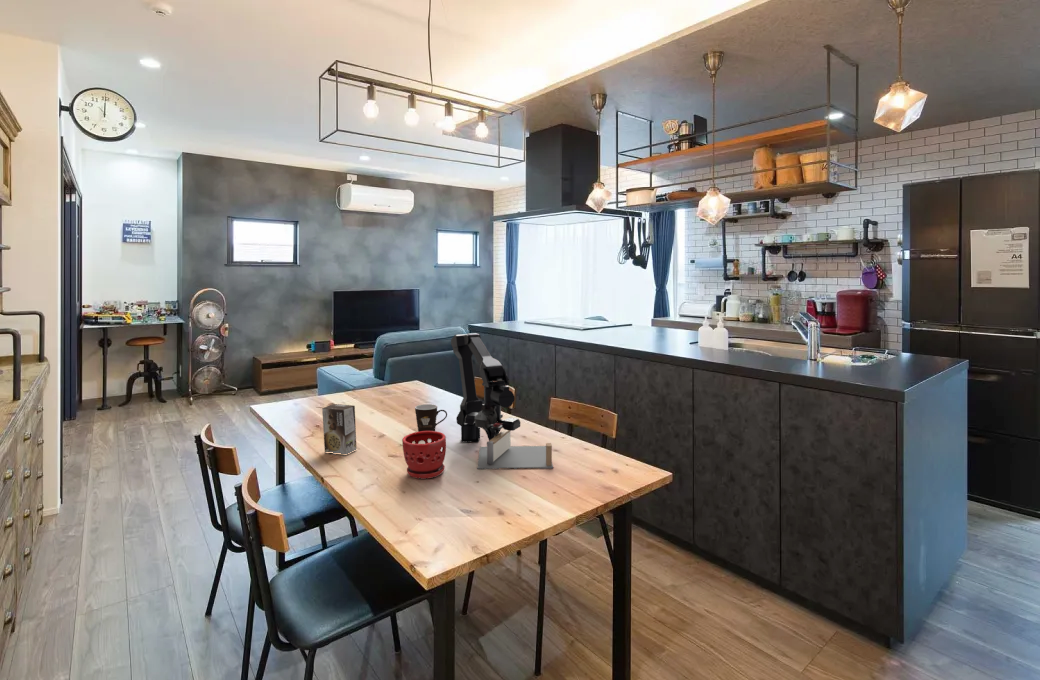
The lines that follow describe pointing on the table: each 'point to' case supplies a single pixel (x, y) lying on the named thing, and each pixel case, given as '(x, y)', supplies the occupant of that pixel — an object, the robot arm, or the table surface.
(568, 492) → the table surface
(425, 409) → the coffee mug
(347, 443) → the coffee box
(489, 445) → the gate
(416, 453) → the plant pot
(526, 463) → the gate frame
